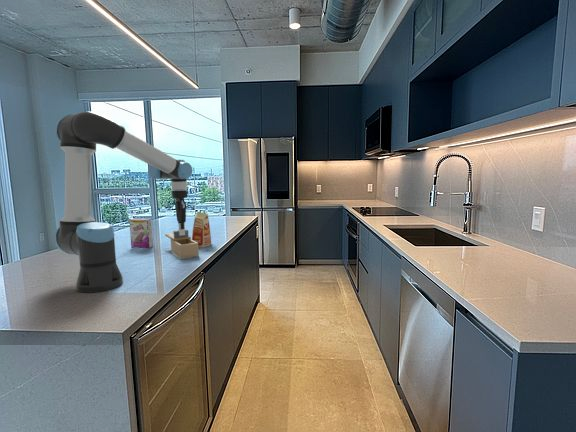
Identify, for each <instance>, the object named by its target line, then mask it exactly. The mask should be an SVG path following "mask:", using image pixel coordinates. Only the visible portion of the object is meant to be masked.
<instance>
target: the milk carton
mask: <svg viewBox="0 0 576 432" xmlns="http://www.w3.org/2000/svg"><path fill="white" fill-rule="evenodd" d="M193 219H194V220H193V225H192V226H193V227H192V236H191V239H192V240H193V241H195V242H197V243H198V248H205V247H209V246H211V245H212V234H211V227H210V220H209V214H208V213H204V212H200V211H196V214H195V216H194V218H193Z"/></svg>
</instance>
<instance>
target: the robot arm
mask: <svg viewBox="0 0 576 432" xmlns="http://www.w3.org/2000/svg"><path fill="white" fill-rule="evenodd" d="M54 132H55V136H56V137H57V139H58V140H59V143H60V147H59V148H60V149H61V151H63V152H64V155H65V156H64V157H65V158H64V216H63V217H62V218H60V219H59V227H58V228H57V229H56V231H55V232H54V233H55V234H54V242H55V245H56V247H57V248H58V249H59V250H61V251H63V252H64V253H66V254H70V255H74V256H78V259H79V268H80V269H79V272H78V275H77V279H76V282H75V288H76V291H77V292H80V293H99V292H104V291H108V290H113V289H115V288H117V287H119V286H122V284H123V283H124V281H123V280H124V279H123V275H122V273H121V270H120V268H119V266H118V264H117V259H116V257H117V255H116V245H115V244H116V243H115V242H116V241H115V232H114V227H113V225H112V224H110V223H107V222H99V221H96V219H95V218H93V217H92V211H91V210H92V157H93V154H95V153H96V151H97V145H101V146H105V147H108V148H110V149H118V150H120V151H122V152H124V153H126V154H128V155H129V156H132V157H133V158H135V159H138V160H140V161H142V162H143V163H146V164H147V165H148V168H147V172H148V173H147V174H148V175H149V177H150V178H151V179H153V180H168V179H169V180H171V183H170V184H171V190H172V191H171V198H173V199H175V202H174V206H175V214H176V221H177V224H178V230H179V235H180V236H181V235H185V230H186V228H185V227H186V221H187V204H186V201H185V199H186V198H188V190H187V189H188V185H189V183H188V182H187V179H190V178H191V176H192V175H193V166H192V165H191V164H190V163H189V162H186V161H185V160H184V159H176V158H174V157H172V156H171V155H169V154H167V153H166V152H164V151H162V150H161V149H158V148H156V147H154V146H153V145H151V144H150V143H148V142H146V141H144V140H143V139H141V138H139V137H137V136H135V135H134V134H131V132H129V131H126V128H125V126H123V125H122V124H119V123H118V122H116V121H114V120H112V119H111V118H110V117H107V116H105V115H103V114H100V113H97V112H95V111H88V110H86V111H81V112H76V113H71V114H67V115H65V116H63V117H61V118H60V119H58V120H57V122H56V124H55V127H54Z"/></svg>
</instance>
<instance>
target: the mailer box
mask: <svg viewBox="0 0 576 432" xmlns="http://www.w3.org/2000/svg"><path fill="white" fill-rule="evenodd" d="M170 251H171V253H172V254H173V255H174V256H175V257H177V258H179V259H180V260H185V259H193V258H197V257H198V258H199V256H200V255H199V254H200V253H199V247H198V243H197V242H195V241H193V240H192V238H191V239H184V240H176V241H173V240H172V239H170Z"/></svg>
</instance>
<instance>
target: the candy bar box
mask: <svg viewBox="0 0 576 432" xmlns="http://www.w3.org/2000/svg"><path fill="white" fill-rule="evenodd" d="M129 233H130V234H129V235H130V246H131V249H132V248H133V249H134V248H135V249H136V248H137V249H138V248H139V249H150V248H152V247H154V235H153V234H154V233H153V220H152V218H131V219H129Z"/></svg>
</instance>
